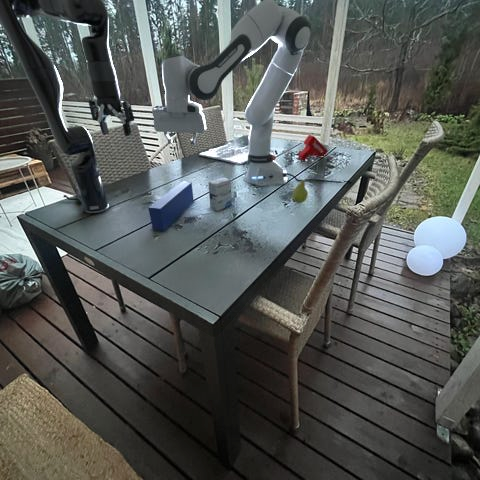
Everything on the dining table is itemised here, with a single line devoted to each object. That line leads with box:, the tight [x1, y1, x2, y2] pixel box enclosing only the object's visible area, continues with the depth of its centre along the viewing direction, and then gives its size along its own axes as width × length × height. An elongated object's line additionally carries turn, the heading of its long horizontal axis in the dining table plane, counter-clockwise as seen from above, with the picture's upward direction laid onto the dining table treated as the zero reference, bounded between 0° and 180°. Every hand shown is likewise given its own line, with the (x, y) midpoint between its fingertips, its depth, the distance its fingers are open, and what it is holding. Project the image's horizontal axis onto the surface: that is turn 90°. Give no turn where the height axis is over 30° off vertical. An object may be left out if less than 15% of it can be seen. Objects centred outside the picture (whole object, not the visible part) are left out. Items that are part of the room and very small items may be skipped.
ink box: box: [207, 177, 232, 212], centre depth 115 cm, size 8×5×12 cm, turn 134°
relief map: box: [198, 141, 249, 165], centre depth 185 cm, size 27×35×5 cm
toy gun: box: [297, 134, 328, 162], centre depth 175 cm, size 18×4×15 cm
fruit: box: [291, 174, 311, 204], centre depth 118 cm, size 7×8×12 cm
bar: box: [148, 180, 195, 232], centre depth 110 cm, size 27×5×9 cm, turn 165°
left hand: (117, 134), depth 92 cm, fingers open, 8 cm apart
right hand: (181, 143), depth 110 cm, fingers open, 8 cm apart
